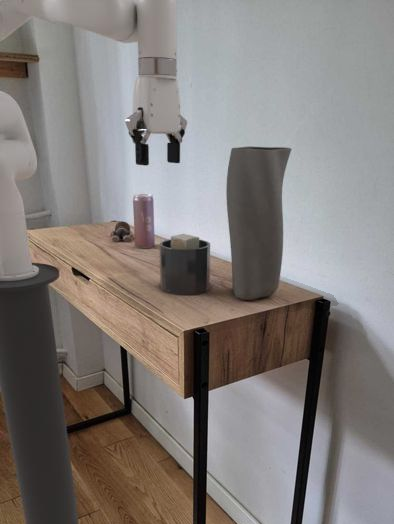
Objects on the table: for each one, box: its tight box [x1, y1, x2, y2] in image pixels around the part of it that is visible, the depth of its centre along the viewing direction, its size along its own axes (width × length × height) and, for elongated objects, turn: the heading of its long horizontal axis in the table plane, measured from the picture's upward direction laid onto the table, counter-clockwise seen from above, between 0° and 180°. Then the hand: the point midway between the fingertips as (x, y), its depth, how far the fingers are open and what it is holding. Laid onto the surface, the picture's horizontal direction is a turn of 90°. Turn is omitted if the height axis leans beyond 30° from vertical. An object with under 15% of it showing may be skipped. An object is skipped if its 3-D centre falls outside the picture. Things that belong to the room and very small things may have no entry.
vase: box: [225, 146, 292, 301], centre depth 100 cm, size 12×12×30 cm
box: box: [170, 233, 200, 249], centre depth 109 cm, size 5×4×11 cm
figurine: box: [108, 221, 135, 243], centre depth 156 cm, size 8×5×10 cm
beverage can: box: [132, 193, 156, 249], centre depth 144 cm, size 6×6×15 cm
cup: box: [158, 238, 211, 296], centre depth 109 cm, size 11×11×10 cm
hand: (158, 163), depth 102 cm, fingers open, 9 cm apart
